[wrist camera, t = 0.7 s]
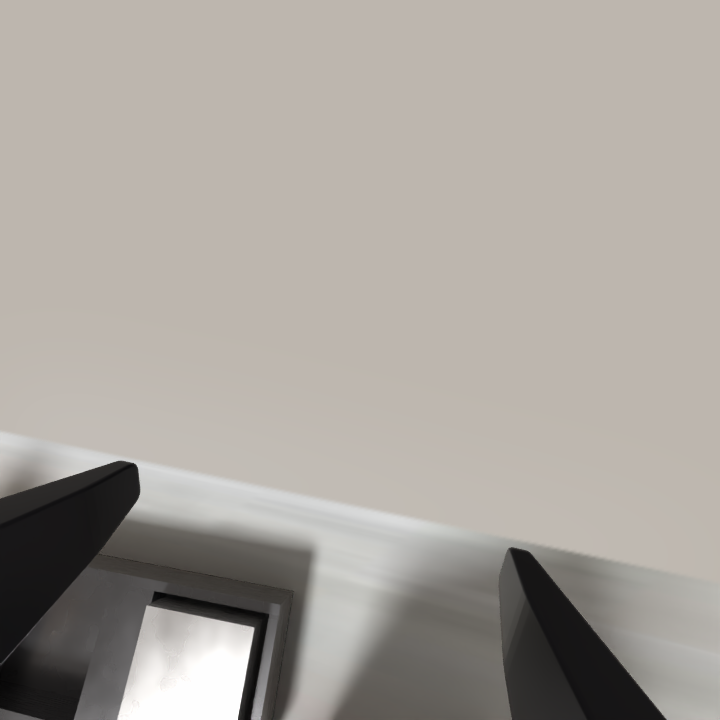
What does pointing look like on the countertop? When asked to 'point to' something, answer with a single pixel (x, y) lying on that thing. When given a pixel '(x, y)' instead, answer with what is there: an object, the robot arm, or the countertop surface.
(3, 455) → the countertop surface
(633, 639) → the countertop surface
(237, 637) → the two-slot holder tray
